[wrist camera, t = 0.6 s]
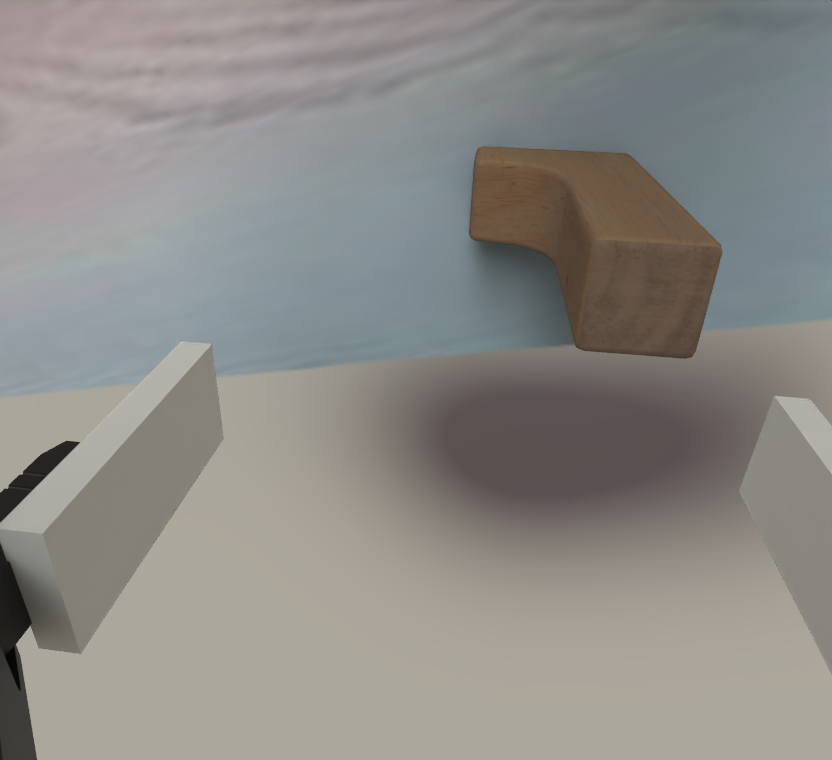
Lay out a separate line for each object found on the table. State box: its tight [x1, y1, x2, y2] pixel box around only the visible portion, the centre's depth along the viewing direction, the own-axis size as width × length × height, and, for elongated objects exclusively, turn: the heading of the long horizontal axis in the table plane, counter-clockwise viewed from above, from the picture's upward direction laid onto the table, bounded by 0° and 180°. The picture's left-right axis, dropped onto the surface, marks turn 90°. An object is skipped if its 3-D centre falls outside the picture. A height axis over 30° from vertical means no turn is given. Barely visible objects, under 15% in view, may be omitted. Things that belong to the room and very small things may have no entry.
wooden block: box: [469, 146, 722, 358], centre depth 31 cm, size 9×4×18 cm, turn 88°
